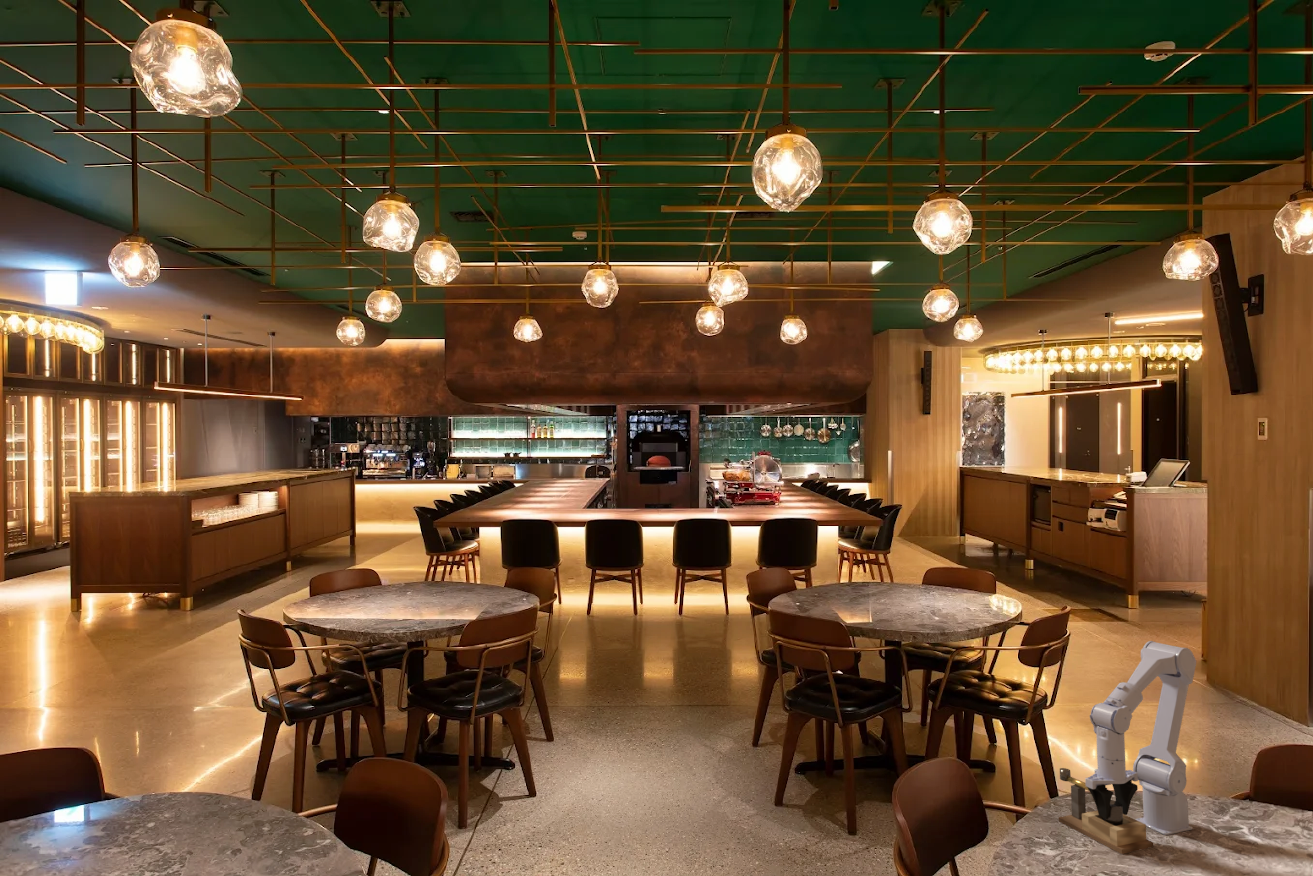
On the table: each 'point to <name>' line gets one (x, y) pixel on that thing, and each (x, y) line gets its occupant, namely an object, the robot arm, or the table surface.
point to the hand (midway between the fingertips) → (1113, 815)
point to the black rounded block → (1115, 813)
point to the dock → (1105, 826)
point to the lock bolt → (1071, 778)
